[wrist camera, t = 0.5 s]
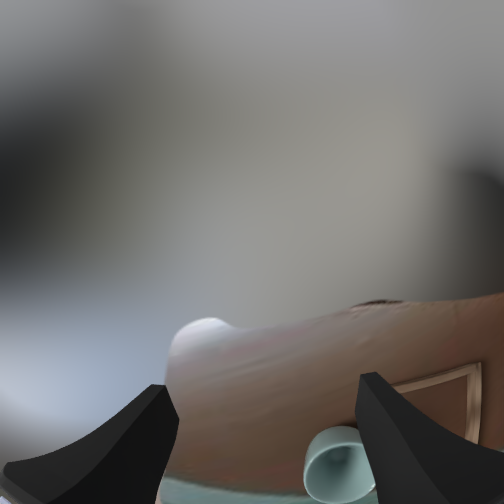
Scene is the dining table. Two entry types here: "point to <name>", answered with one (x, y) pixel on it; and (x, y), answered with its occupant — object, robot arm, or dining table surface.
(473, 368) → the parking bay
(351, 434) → the cup
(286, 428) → the dining table surface
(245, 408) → the dining table surface
